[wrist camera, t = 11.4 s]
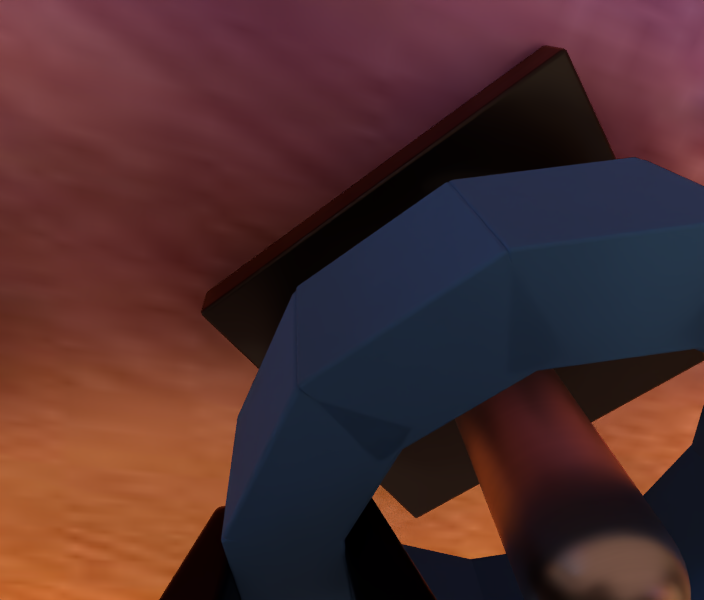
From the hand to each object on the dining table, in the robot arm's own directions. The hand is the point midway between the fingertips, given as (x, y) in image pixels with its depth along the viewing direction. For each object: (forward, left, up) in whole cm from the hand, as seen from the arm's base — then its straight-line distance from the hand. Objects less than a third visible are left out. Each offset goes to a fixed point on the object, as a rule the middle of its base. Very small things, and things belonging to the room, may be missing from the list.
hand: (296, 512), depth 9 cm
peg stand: (+4, -2, -5) cm, 7 cm away
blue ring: (+4, -2, -1) cm, 4 cm away
